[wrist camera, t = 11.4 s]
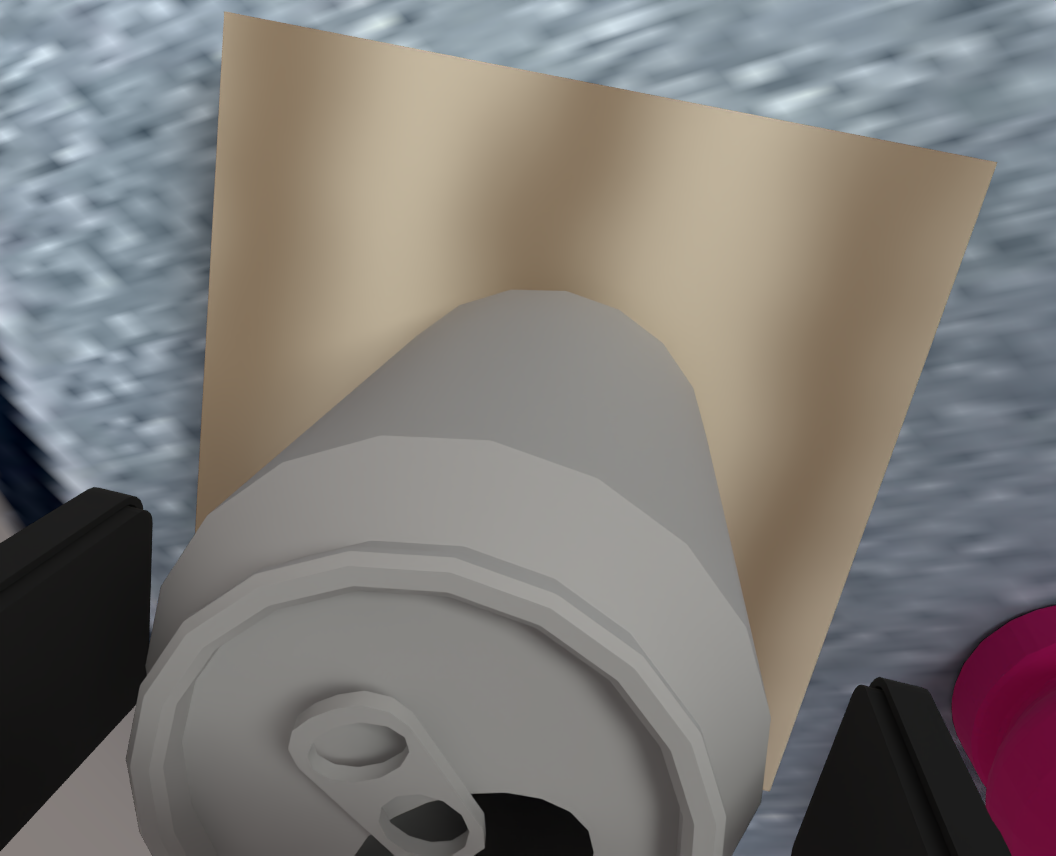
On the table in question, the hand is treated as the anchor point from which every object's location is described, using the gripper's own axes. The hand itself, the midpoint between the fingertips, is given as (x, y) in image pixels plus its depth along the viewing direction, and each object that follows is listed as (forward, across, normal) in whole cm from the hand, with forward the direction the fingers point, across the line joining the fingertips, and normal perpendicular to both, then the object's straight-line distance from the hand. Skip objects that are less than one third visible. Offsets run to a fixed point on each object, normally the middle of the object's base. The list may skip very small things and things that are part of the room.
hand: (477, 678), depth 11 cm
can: (+10, 0, 0) cm, 10 cm away
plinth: (+12, +1, 0) cm, 12 cm away
